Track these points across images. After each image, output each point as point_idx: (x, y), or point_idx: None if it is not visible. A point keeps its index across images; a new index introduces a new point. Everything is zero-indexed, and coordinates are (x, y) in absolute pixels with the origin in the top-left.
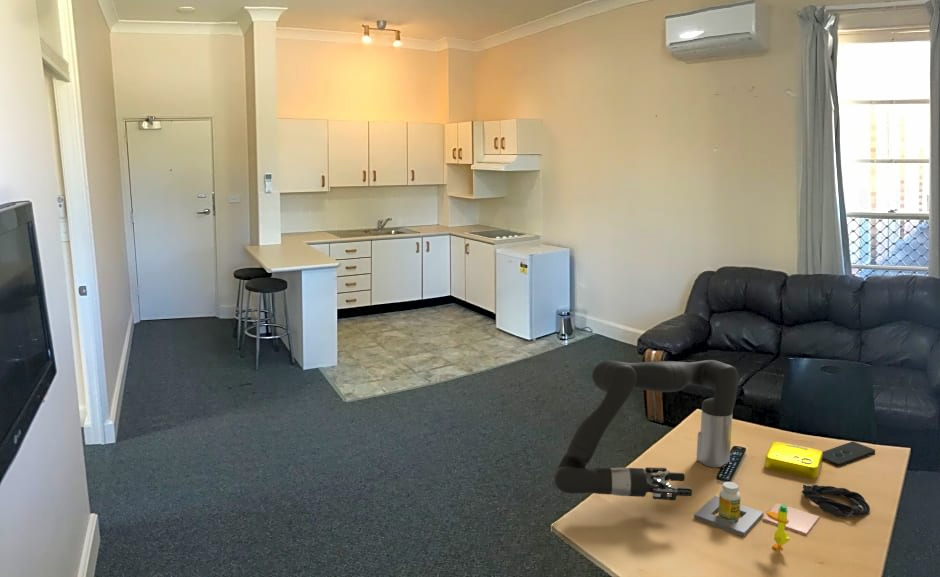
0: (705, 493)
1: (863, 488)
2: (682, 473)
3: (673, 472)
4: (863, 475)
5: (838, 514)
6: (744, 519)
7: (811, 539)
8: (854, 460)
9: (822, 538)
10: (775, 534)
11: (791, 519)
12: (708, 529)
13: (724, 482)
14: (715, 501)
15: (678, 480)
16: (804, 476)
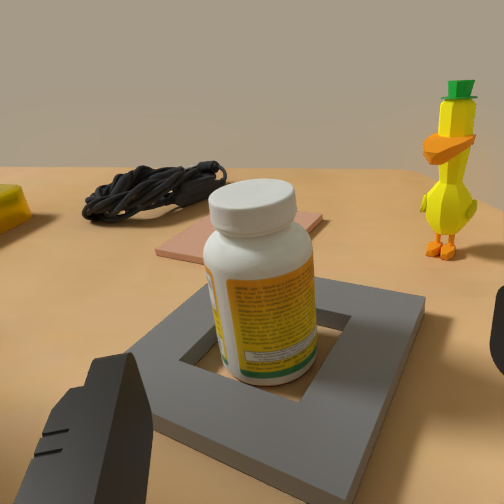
0: (13, 441)
1: (95, 182)
2: (113, 363)
3: (54, 479)
4: (45, 183)
5: (216, 186)
6: None
7: (339, 214)
8: None
9: (323, 205)
10: (464, 202)
11: None
12: (448, 436)
13: (221, 206)
14: (150, 382)
15: (146, 478)
16: (16, 222)
